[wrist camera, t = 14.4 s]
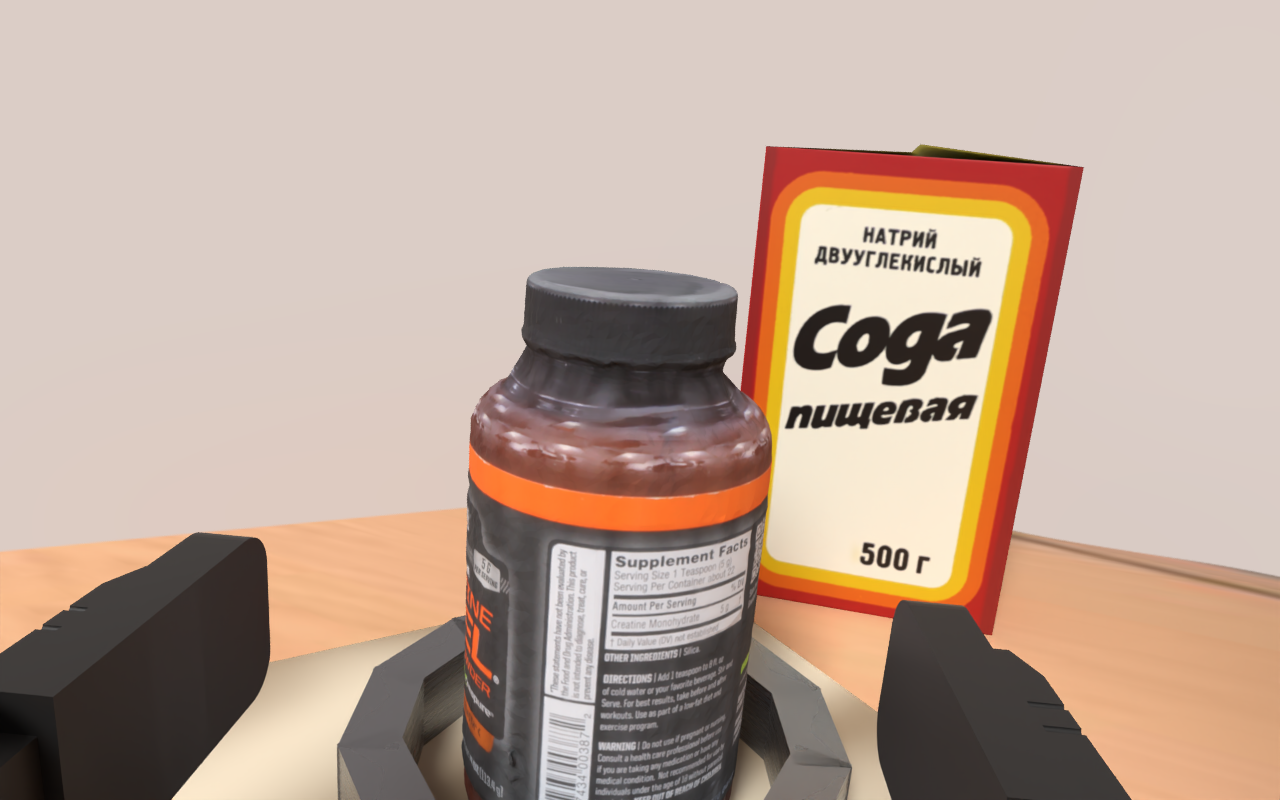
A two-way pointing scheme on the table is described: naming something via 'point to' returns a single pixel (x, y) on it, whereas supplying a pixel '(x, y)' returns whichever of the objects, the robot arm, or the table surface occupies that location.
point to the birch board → (331, 688)
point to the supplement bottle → (613, 545)
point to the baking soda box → (900, 367)
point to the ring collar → (434, 699)
